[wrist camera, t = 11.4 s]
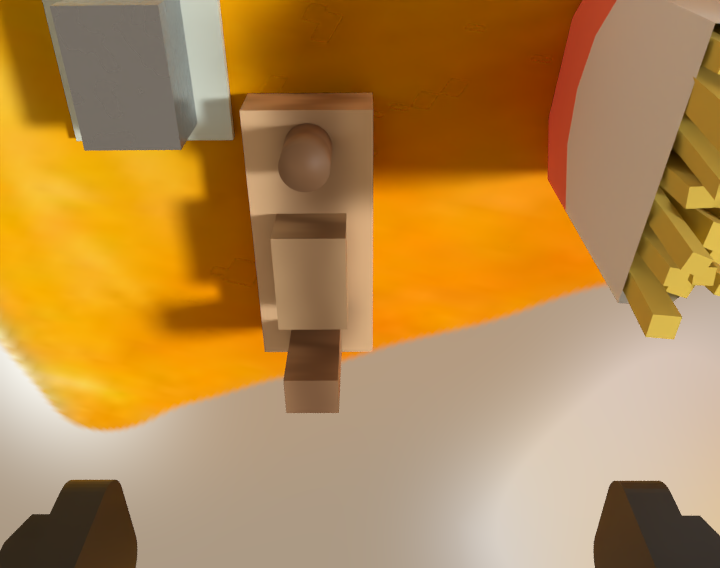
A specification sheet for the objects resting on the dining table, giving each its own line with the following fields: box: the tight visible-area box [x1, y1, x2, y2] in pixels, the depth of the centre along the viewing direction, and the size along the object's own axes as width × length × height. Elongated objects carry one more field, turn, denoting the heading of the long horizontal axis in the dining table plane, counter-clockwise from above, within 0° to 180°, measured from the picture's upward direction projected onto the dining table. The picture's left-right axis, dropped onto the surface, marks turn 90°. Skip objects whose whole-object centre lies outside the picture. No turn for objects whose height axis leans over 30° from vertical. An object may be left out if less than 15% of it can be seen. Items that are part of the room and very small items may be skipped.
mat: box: [42, 0, 235, 141], centre depth 36 cm, size 9×9×1 cm
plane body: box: [239, 93, 373, 413], centre depth 38 cm, size 7×16×9 cm, turn 0°
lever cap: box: [50, 0, 197, 150], centre depth 34 cm, size 5×7×4 cm
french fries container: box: [548, 0, 720, 339], centre depth 29 cm, size 5×11×18 cm, turn 175°
